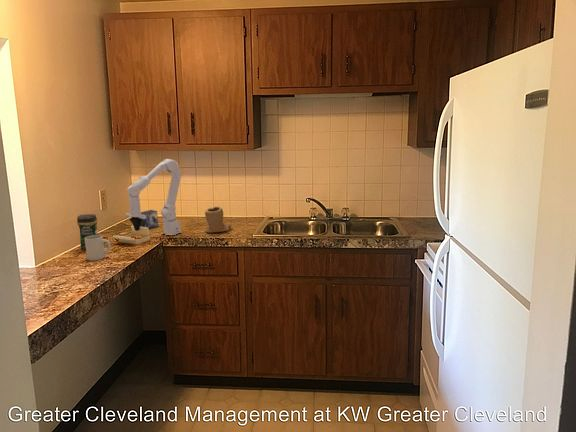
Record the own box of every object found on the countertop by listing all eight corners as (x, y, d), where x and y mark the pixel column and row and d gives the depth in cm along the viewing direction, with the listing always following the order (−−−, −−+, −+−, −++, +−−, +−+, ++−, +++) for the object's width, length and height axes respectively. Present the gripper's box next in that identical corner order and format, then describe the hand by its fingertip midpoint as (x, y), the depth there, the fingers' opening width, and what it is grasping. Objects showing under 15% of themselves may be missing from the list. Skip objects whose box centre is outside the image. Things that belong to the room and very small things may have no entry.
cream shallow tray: (150, 239, 258) (149, 235, 258) (136, 244, 250) (136, 240, 249) (133, 237, 265) (132, 233, 265) (119, 242, 257) (118, 237, 256)
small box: (145, 230, 280) (143, 214, 278) (138, 229, 284) (136, 212, 282) (159, 226, 288) (157, 210, 286) (152, 225, 292) (151, 209, 290)
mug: (84, 261, 226) (81, 239, 223) (91, 255, 234) (88, 235, 231) (109, 259, 226) (106, 238, 223) (114, 254, 234) (112, 234, 232)
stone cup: (204, 235, 264) (202, 210, 260) (206, 230, 275) (204, 205, 272) (231, 233, 265) (229, 208, 262) (231, 228, 277) (229, 204, 273)
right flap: (148, 234, 258) (150, 233, 259) (146, 228, 256) (148, 227, 257) (132, 232, 264) (134, 231, 265) (130, 226, 262) (132, 225, 263)
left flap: (129, 237, 246) (129, 240, 246) (135, 238, 249) (134, 240, 249) (113, 235, 252) (113, 237, 252) (119, 235, 256) (118, 237, 256)
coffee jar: (79, 250, 244) (74, 216, 240) (84, 246, 252) (79, 213, 247) (97, 249, 245) (92, 215, 240) (102, 245, 252) (97, 212, 248)
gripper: (120, 207, 256) (122, 230, 259) (138, 209, 249) (140, 233, 252) (130, 204, 262) (132, 227, 265) (148, 206, 255) (150, 230, 258)
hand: (137, 230), depth 259 cm, fingers closed, pressing on right flap
